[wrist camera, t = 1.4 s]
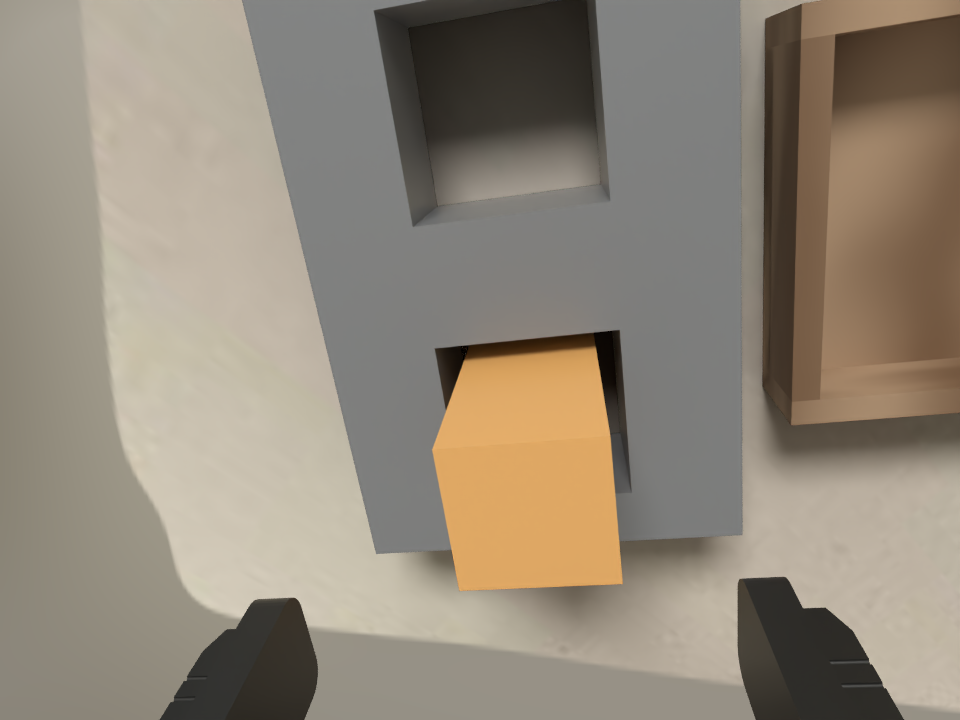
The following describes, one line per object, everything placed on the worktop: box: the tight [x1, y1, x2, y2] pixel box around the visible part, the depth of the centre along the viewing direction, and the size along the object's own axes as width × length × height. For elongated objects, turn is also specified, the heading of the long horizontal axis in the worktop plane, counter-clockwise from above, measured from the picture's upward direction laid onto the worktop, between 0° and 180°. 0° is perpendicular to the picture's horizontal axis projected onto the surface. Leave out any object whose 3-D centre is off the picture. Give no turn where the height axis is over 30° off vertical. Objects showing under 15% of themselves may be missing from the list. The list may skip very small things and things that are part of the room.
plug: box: [432, 333, 623, 591], centre depth 19 cm, size 4×4×9 cm
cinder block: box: [242, 0, 742, 554], centre depth 20 cm, size 12×18×4 cm, turn 8°
